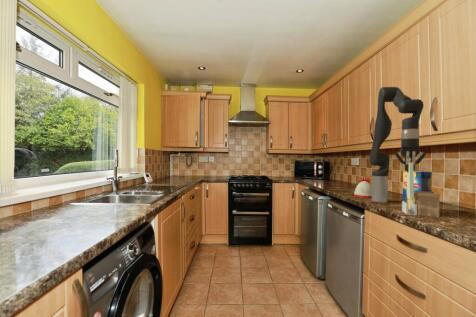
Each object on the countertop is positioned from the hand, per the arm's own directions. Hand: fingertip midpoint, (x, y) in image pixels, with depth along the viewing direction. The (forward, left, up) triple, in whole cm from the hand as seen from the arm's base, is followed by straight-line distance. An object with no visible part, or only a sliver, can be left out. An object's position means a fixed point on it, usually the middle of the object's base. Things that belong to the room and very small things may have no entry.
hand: (409, 171), depth 122 cm
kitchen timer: (-57, -17, -22) cm, 63 cm away
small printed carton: (0, 0, -22) cm, 22 cm away
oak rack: (0, +7, -22) cm, 23 cm away
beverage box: (-11, +6, -22) cm, 26 cm away
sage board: (+2, 0, -13) cm, 14 cm away
